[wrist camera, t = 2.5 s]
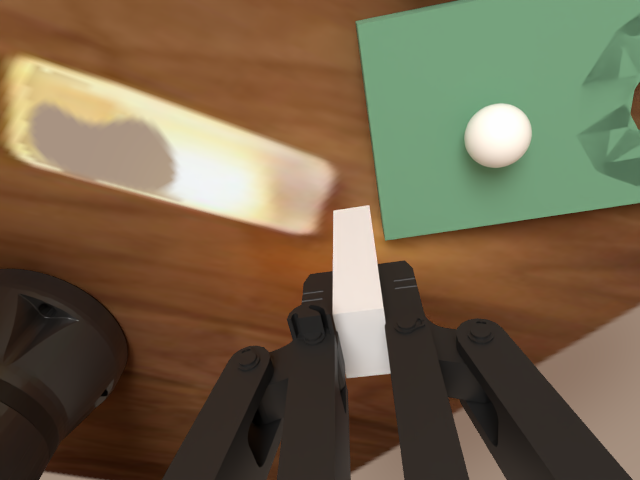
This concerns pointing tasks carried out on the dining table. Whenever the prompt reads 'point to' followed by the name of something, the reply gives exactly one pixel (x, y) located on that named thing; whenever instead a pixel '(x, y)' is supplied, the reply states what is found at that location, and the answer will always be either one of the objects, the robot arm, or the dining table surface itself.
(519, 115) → the ball
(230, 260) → the dining table surface
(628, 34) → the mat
